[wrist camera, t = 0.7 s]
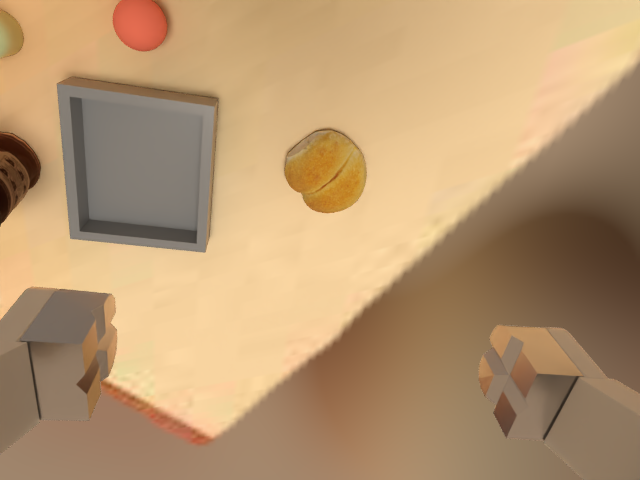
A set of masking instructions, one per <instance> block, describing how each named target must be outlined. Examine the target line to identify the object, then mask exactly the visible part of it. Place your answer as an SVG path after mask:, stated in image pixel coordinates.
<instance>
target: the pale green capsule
mask: <svg viewBox="0 0 640 480" xmlns="http://www.w3.org/2000/svg"><path fill="white" fill-rule="evenodd" d="M23 41H24V36H23V32H22V29H21V27H20V25H19V23H18V22H17V21H16V20H15V19H14V18H13V17H12V16H11V15H10V14H8V13H7V12H5V11H3V10H0V58H4V57H7V56H11V55H14V54H16V53H17V52H19V51H20V49H21V48H22V46H23Z"/></svg>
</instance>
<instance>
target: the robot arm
mask: <svg viewBox="0 0 640 480" xmlns="http://www.w3.org/2000/svg"><path fill="white" fill-rule="evenodd" d="M115 313H116V307H115V298H114V296H113V295H112V294H107V293H97V292H86V291H76V290H66V289H55V288H43V287H31V288H28V289H26V290H25V291H24V292H23V293H22V295H21V296H20V297H19V298H18V300H17V301H16V302H15V303H14V304H13V306H12V307H11V308H10V309H9V310H8V312H7V313H6V314H5V315H4V316H3V318H2V319H1V320H0V454H1V453H3V452H4V451H5V450H6V449H7V448H9V447H10V446H11V445H13V444H14V443H15V442H16V441H18V440H19V439H20V438H21V437H23V436H24V435H25V434H26V433H28V432H29V431H30V430H31V429H33V428H34V427H35V426H36V425H37V424H39V423H40V420H71V421H89V420H90V418H91V416H92V413H93V411H94V409H95V406H96V404H97V402H98V400H99V397H100V395H101V383H100V382H101V381H102V380H104V379H105V378H107V377H108V376H109V374H110V371H111V369H112V366H113V363H114V359H115V355H116V349H117V329H116V328H115V327H114V326H113V325H112V324H111V321H112V319H113V317H114V315H115ZM489 340H490V342H491V344H492V348H491V349H490V350H488V351H487V352H486V353H484V354H483V356H482V359H481V362H480V365H479V383H480V387H481V389H482V391H483V394H484V396H485V397H486V398H487V399H489V400H490V401H491V402H493V403H494V404H495V405H496V406H495V409H494V412H493V413H494V415H495V417H496V419H497V421H498V423H499V425H500V427H501V429H502V431H503V433H504V435H505V437H506V438H509V439H523V440H538V441H544V444H545V445H546V446H547V447H549V448H550V449H551V450H552V451H553V452H554V453H555V454H556V455H557V456H558V457H559V458H560V459H561V460H562V461H564V462H565V463H566V464H567V465H568V466H569V467H570V468H571V469H572V470H573V471H574V472H575V473H576V474H578V475H579V476H580V477H581V478H582V479H583V480H640V394H639V393H637V392H636V391H634V390H632V389H630V388H628V387H627V386H625V385H624V384H622V383H620V382H618V381H617V380H615V379H608V378H607V377H606V376H605V375H604V373H603V372H602V371H601V370H600V368H599V367H598V366H597V365H596V364H595V363H594V361H593V360H592V359H591V358H590V357H589V355H588V354H587V353H586V352H585V351H584V349H582V347H581V346H580V345H579V344H578V342H577V341H575V339H574V338H573V337H572V335H571V334H570V333H569V332H568V331H566V330H564V329H563V328H550V327H540V328H538V327H523V326H508V325H497V327H496V328H495V329H494V330H493V332H492V334H491V337H490V339H489Z"/></svg>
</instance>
